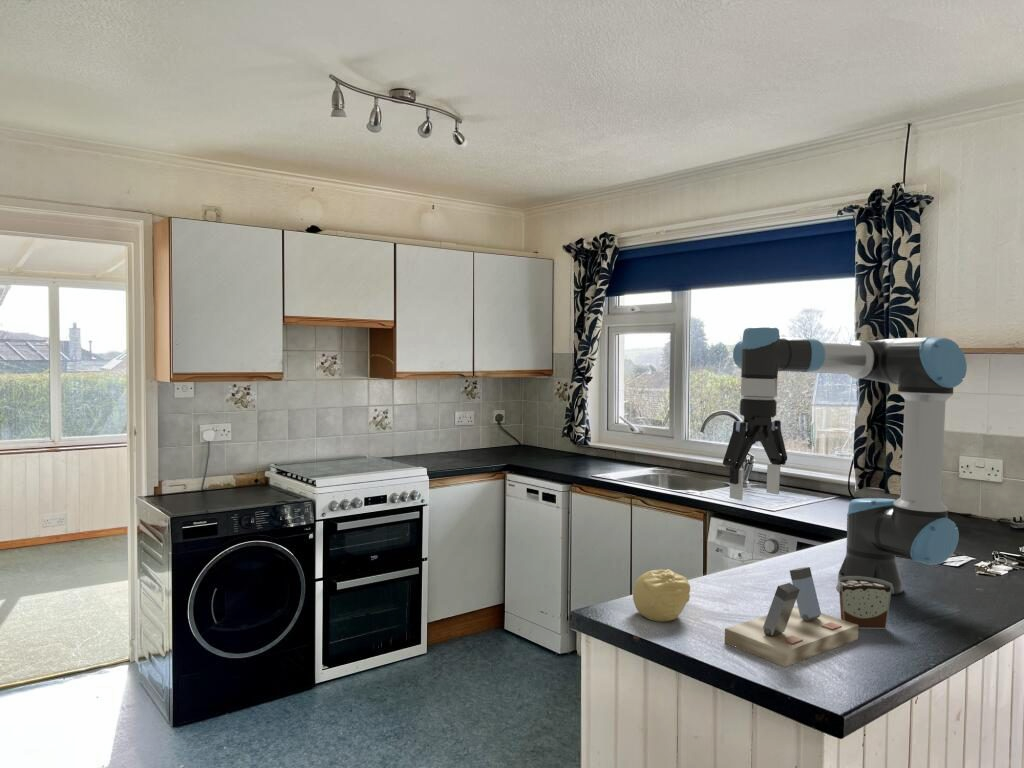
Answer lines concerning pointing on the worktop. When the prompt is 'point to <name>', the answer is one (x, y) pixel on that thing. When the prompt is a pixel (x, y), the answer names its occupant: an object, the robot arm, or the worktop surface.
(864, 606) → the food container
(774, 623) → the lever
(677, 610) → the pale yellow wrinkled ball
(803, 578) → the lever
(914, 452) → the robot arm
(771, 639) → the switch board
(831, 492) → the worktop surface
